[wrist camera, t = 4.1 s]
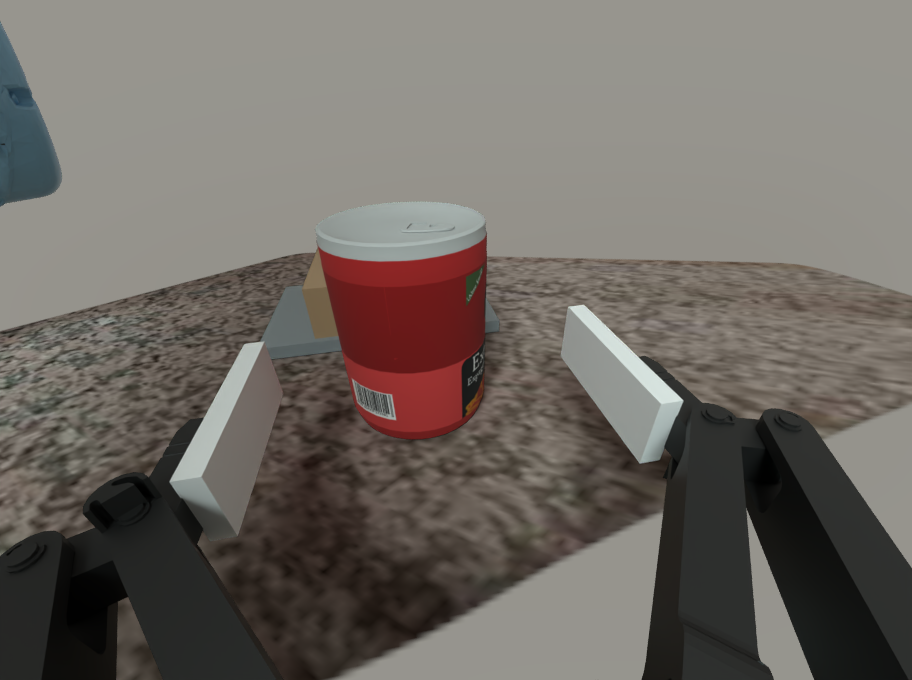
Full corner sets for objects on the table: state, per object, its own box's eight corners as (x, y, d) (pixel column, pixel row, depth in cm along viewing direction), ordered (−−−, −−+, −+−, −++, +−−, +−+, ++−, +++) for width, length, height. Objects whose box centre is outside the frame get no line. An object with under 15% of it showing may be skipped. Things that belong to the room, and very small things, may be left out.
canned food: (497, 433, 21) (506, 237, 15) (350, 454, 20) (296, 253, 14) (471, 355, 27) (470, 196, 21) (359, 368, 26) (325, 205, 20)
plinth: (260, 360, 27) (237, 298, 25) (288, 296, 36) (273, 246, 34) (498, 331, 30) (501, 272, 27) (469, 278, 39) (468, 230, 36)
